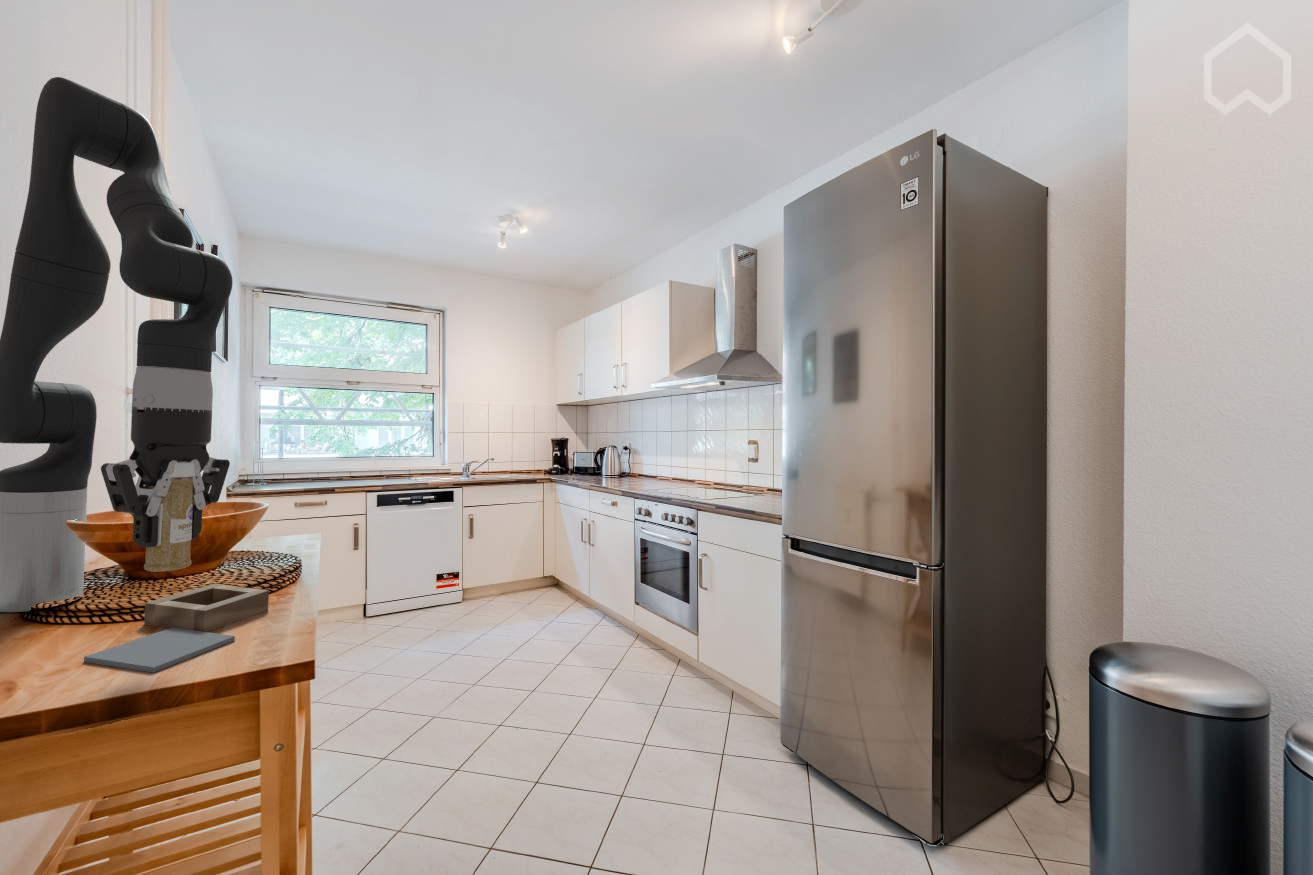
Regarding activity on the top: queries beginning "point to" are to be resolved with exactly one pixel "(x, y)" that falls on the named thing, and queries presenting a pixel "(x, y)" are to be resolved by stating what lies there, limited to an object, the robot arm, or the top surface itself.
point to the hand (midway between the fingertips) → (168, 541)
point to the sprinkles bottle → (174, 523)
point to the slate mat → (159, 649)
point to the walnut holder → (206, 607)
